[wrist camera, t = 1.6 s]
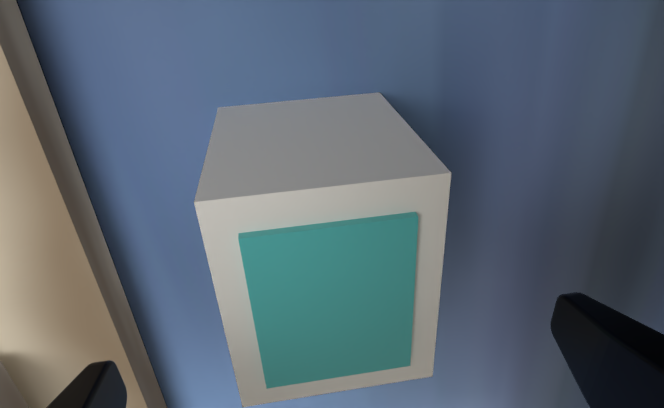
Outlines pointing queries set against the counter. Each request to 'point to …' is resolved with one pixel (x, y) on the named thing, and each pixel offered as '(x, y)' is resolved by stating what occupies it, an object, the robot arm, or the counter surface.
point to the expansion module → (323, 244)
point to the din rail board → (53, 250)
